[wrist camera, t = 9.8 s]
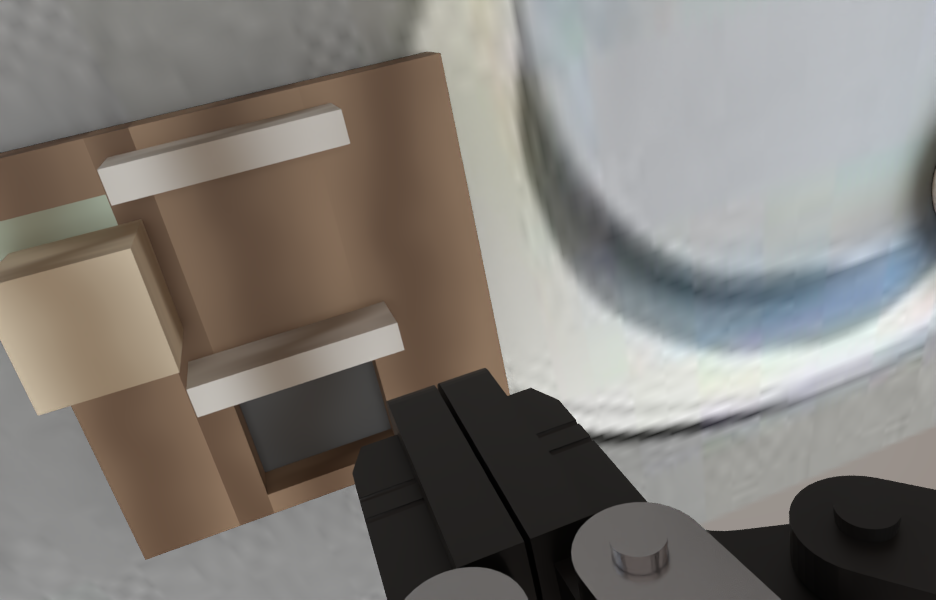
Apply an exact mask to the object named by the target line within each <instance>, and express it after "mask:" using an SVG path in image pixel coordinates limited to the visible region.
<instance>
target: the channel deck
mask: <svg viewBox="0 0 936 600" xmlns="http://www.w3.org/2000/svg"><path fill="white" fill-rule="evenodd" d="M140 219H142V222H143V224H144V227H145V229H146V232H147V235H148V237H149V240H150V242H151V245H152V248H153V250H154V253H155V255H156V258H157V261H158V263H159V266H160V269H161V271H162V274H163V276H164V279H165V282H166V284H167V287H168V289H169V292H170V295H171V297H172V300H173V303H174V305H175V308H176V310H177V313H178V316H179V318H180V321H181V323H182V326H183V329H184V333H183V343H182V353H181V363H180V373H176V374H173V375H170V376H167V377H163V378H160V379H157V380H153V381H150V382H147V383H144V384H140V385H137V386H134V387H130V388H127V389H124V390H121V391H117V392H114V393H111V394H107V395H104V396H101V397H98V398H94V399H91V400H88V401H84V402H81V403H78V404H75V405H71V407H72V409H73V411H74V413H75V415H76V417H77V419H78V421H79V423H80V425H81V427H82V429H83V431H84V434H85V436H86V438H87V440H88V442H89V444H90V446H91V448H92V450H93V452H94V454H95V456H96V458H97V460H98V462H99V465H100V467H101V469H102V471H103V473H104V475H105V477H106V479H107V481H108V483H109V485H110V487H111V489H112V491H113V493H114V496H115V498H116V500H117V502H118V504H119V506H120V508H121V510H122V512H123V514H124V516H125V518H126V520H127V522H128V525H129V527H130V529H131V531H132V533H133V535H134V537H135V539H136V541H137V543H138V545H139V547H140V549H141V551H142V553H143V556H144V558H145V560H146V559H149V558H152V557H155V556H157V555H160V554H163V553H166V552H168V551H171V550H174V549H177V548H180V547H182V546H185V545H188V544H191V543H193V542H196V541H199V540H202V539H204V538H207V537H210V536H213V535H215V534H218V533H221V532H224V531H227V530H229V529H232V528H235V527H238V526H240V525H243V524H246V523H249V522H251V521H254V520H257V519H260V518H262V517H265V516H268V515H271V514H274V513H276V512H279V511H282V510H285V509H287V508H290V507H293V506H296V505H298V504H301V503H304V502H307V501H309V500H312V499H315V498H318V497H320V496H323V495H326V494H329V493H332V492H334V491H337V490H340V489H343V488H345V487H348V486H351V485H354V484H355V482H354V478H353V475H352V472H353V469H354V466H355V463H356V460H357V457H358V454H359V451H360V449H361V447H363V446H365V445H368V444H371V443H374V442H377V441H380V440H383V439H386V438H388V437H391V436H394V435H395V434H394V430H393V427H392V423H391V420H390V416H389V413H388V409H387V405H386V401H388V400H391V399H394V398H397V397H400V396H403V395H406V394H409V393H412V392H415V391H418V390H421V389H423V388H426V387H429V386H432V385H435V386H436V388H437V384H438V383H441V382H444V381H447V380H450V379H453V378H456V377H459V376H461V375H464V374H467V373H470V372H473V371H476V370H479V369H482V368H486V369H488V371H489V372H490V373H491V375H492V376H493V377H494V379H495V380H496V381H497V383H498V384H499V385H500V387H501V388H502V389H503V391H504V392H505V393H506V395H507V396H509V395H510V393H509V388H508V383H507V378H506V374H505V369H504V364H503V359H502V354H501V349H500V344H499V339H498V334H497V329H496V324H495V319H494V314H493V310H492V305H491V300H490V295H489V290H488V285H487V280H486V275H485V270H484V265H483V260H482V255H481V250H480V246H479V241H478V236H477V231H476V226H475V221H474V216H473V211H472V206H471V201H470V196H469V191H468V186H467V182H466V177H465V172H464V167H463V162H462V157H461V152H460V147H459V142H458V137H457V132H456V127H455V122H454V118H453V113H452V108H451V103H450V98H449V93H448V88H447V83H446V78H445V73H444V68H443V63H442V58H441V54H440V53H434V52H424V53H420V54H415V55H411V56H407V57H403V58H398V59H394V60H390V61H386V62H382V63H377V64H373V65H369V66H365V67H361V68H356V69H352V70H348V71H344V72H340V73H335V74H331V75H327V76H323V77H318V78H314V79H310V80H306V81H302V82H297V83H293V84H289V85H285V86H281V87H276V88H272V89H268V90H264V91H260V92H255V93H251V94H247V95H243V96H238V97H234V98H230V99H226V100H222V101H217V102H213V103H209V104H205V105H201V106H196V107H192V108H188V109H184V110H180V111H175V112H171V113H167V114H163V115H158V116H154V117H150V118H146V119H142V120H137V121H133V122H129V123H125V124H121V125H116V126H112V127H108V128H104V129H100V130H95V131H91V132H87V133H83V134H78V135H74V136H70V137H66V138H62V139H57V140H53V141H49V142H45V143H41V144H36V145H32V146H28V147H24V148H19V149H15V150H11V151H7V152H3V153H0V260H1V261H2V260H3V259H4V258H5V257H6V256H7V254H8V253H12V252H16V251H20V250H24V249H28V248H31V247H35V246H39V245H43V244H47V243H51V242H55V241H59V240H63V239H66V238H70V237H74V236H78V235H82V234H86V233H90V232H94V231H97V230H101V229H105V228H109V227H113V226H117V225H121V224H125V223H129V222H132V221H136V220H140Z"/></svg>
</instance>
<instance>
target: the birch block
mask: <svg viewBox="0 0 936 600" xmlns="http://www.w3.org/2000/svg"><path fill="white" fill-rule="evenodd" d="M183 333H184V329H183V326H182V323H181V321H180V318H179V316H178V313H177V310H176V308H175V305H174V303H173V300H172V297H171V295H170V292H169V289H168V287H167V284H166V282H165V279H164V276H163V274H162V271H161V269H160V266H159V263H158V261H157V258H156V255H155V253H154V250H153V248H152V245H151V242H150V240H149V237H148V235H147V232H146V229H145V227H144V224H143V222H142V219H140V220H136V221H132V222H129V223H125V224H121V225H117V226H113V227H109V228H105V229H101V230H97V231H94V232H90V233H86V234H82V235H78V236H74V237H70V238H66V239H63V240H59V241H55V242H51V243H47V244H43V245H39V246H35V247H31V248H28V249H24V250H20V251H16V252H12V253H8V254H7V256H6V257H5V258H4V259H3V260H2V261H1V262H0V340H1V342H2V344H3V346H4V348H5V350H6V352H7V354H8V356H9V358H10V360H11V362H12V364H13V366H14V368H15V370H16V372H17V374H18V376H19V378H20V380H21V382H22V384H23V386H24V388H25V391H26V393H27V395H28V397H29V399H30V401H31V403H32V405H33V407H34V409H35V411H36V413H37V415H42V414H45V413H48V412H52V411H55V410H58V409H61V408H65V407H68V406H71V405H75V404H78V403H81V402H84V401H88V400H91V399H94V398H98V397H101V396H104V395H107V394H111V393H114V392H117V391H121V390H124V389H127V388H130V387H134V386H137V385H140V384H144V383H147V382H150V381H153V380H157V379H160V378H163V377H167V376H170V375H173V374H176V373H180V363H181V353H182V343H183Z"/></svg>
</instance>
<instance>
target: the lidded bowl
mask: <svg viewBox="0 0 936 600" xmlns="http://www.w3.org/2000/svg"><path fill="white" fill-rule="evenodd" d="M932 202H933V207H934V211H935V213H936V168H935V171H934V176H933V182H932Z"/></svg>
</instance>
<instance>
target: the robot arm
mask: <svg viewBox="0 0 936 600" xmlns="http://www.w3.org/2000/svg"><path fill="white" fill-rule="evenodd" d="M386 405H387V409H388V413H389V416H390V420H391V423H392V427H393V430H394V434H395V435H394V436H391V437H388V438H386V439H383V440H380V441H377V442H374V443H371V444H368V445H365V446H363V447H361V449H360V451H359V454H358V457H357V460H356V463H355V466H354V469H353V472H352V475H353V478H354V482H355V485H356V489H357V493H358V496H359V500H360V503H361V507H362V511H363V514H364V518H365V521H366V524H367V528H368V532H369V536H370V539H371V543H372V546H373V550H374V554H375V557H376V561H377V564H378V568H379V572H380V575H381V579H382V582H383V586H384V590H385V593H386V597H387V600H936V490H934V489H929V488H924V487H919V486H914V485H908V484H904V483H899V482H894V481H889V480H884V479H879V478H873V477H867V476H838V477H832V478H827V479H823V480H820V481H817V482H815V483H813V484H811V485H808V486H807V487H806V488H804V489H803V490H801V491H800V492H799V493H798V494H797V495H796V496H795V498H794V500H793V502H792V504H791V506H790V511H789V524H786V525H778V526H769V527H761V528H752V529H744V530H735V531H709V530H705V529H704V528H703V527H702V526H701V525H700V524H698V523H697V522H696V521H695V520H694V519H692V518H691V517H690V516H689V515H687V514H685V513H683V512H682V511H680V510H677V509H675V508H672V507H670V506H666V505H662V504H658V503H649V502H647V501H646V500H645V499H644V498H643V496H642V495H641V494H640V493H639V492H638V491H637V490H636V488H635V487H634V486H633V485H632V484H631V483H630V482H629V480H628V479H627V478H626V477H625V476H624V475H623V473H622V472H621V471H620V470H619V469H618V468H617V467H616V465H615V464H614V463H613V462H612V461H611V460H610V459H609V457H608V456H607V455H606V454H605V453H604V452H603V450H602V449H601V448H600V447H599V446H598V445H597V444H596V442H595V441H594V440H593V441H592V440H591V438H590V436H589V434H588V433H587V432H586V431H585V430H584V429H583V427H582V426H581V425H580V424H577V422H576V419H575V418H574V417H573V416H572V415H571V414H570V413H569V411H568V410H567V409H566V408H565V407H564V406H563V404H562V403H561V402H560V401H559V400H557V399H555V398H553V397H551V396H548V395H546V394H544V393H541V392H539V391H537V390H534V389H532V388H529V389H526V390H523V391H520V392H517V393H515V394H512V395H509V396H507V395H506V393H505V392H504V391H503V389H502V388H501V387H500V385H499V384H498V383H497V381H496V380H495V379H494V377H493V376H492V375H491V373H490V372H489V371H488V369H486V368H482V369H479V370H476V371H473V372H470V373H467V374H464V375H461V376H459V377H456V378H453V379H450V380H447V381H444V382H441V383H438V384H437V388H436V386H435V385H432V386H429V387H426V388H423V389H421V390H418V391H415V392H412V393H409V394H406V395H403V396H400V397H397V398H394V399H391V400H388V401H386Z"/></svg>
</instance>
